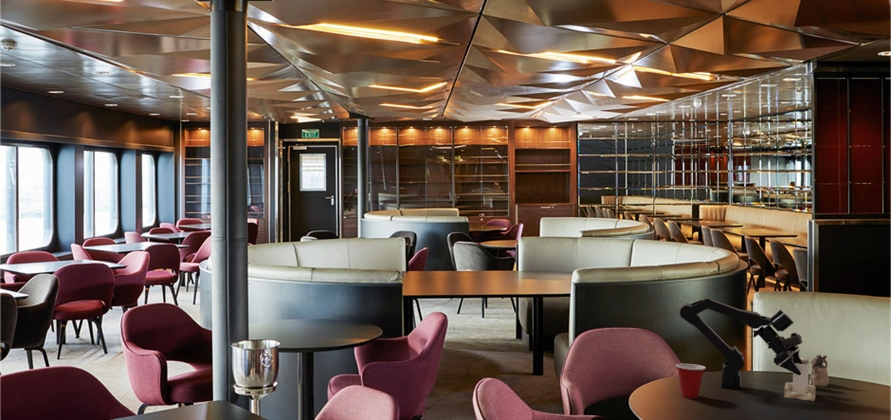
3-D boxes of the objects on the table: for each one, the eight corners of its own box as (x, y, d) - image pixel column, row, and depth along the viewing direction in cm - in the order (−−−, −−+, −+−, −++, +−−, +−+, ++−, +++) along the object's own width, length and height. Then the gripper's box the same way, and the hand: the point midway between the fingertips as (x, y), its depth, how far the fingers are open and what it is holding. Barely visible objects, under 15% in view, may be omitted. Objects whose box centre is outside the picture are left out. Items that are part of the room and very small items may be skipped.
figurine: (810, 380, 313) (811, 351, 312) (830, 383, 309) (830, 354, 308) (807, 384, 307) (808, 354, 307) (826, 387, 303) (827, 357, 303)
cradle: (784, 397, 289) (784, 368, 289) (787, 383, 309) (788, 356, 308) (814, 401, 284) (815, 371, 284) (816, 386, 304) (817, 359, 304)
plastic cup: (706, 394, 292) (707, 363, 292) (703, 402, 282) (704, 369, 282) (677, 390, 297) (677, 360, 296) (673, 398, 287) (673, 366, 286)
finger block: (792, 394, 291) (793, 365, 290) (795, 391, 294) (795, 363, 294) (805, 396, 288) (806, 367, 287) (807, 393, 292) (808, 364, 291)
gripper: (783, 330, 285) (815, 364, 279) (794, 323, 300) (824, 354, 294) (760, 348, 290) (791, 382, 284) (772, 340, 305) (801, 371, 299)
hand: (802, 372), depth 290 cm, fingers open, 9 cm apart
